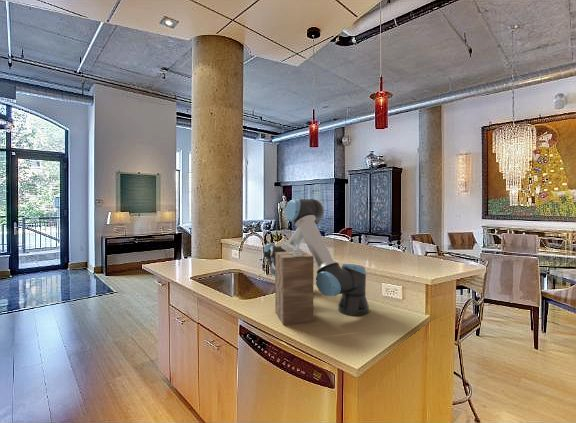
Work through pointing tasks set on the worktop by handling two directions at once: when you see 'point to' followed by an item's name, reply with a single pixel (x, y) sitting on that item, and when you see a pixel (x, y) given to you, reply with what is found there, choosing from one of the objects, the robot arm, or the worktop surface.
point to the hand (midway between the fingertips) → (285, 247)
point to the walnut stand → (294, 288)
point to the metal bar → (291, 249)
